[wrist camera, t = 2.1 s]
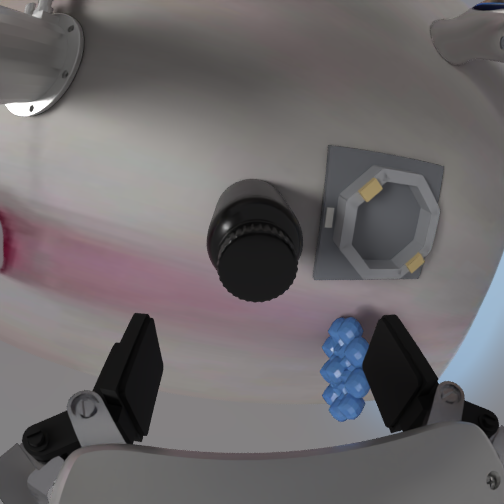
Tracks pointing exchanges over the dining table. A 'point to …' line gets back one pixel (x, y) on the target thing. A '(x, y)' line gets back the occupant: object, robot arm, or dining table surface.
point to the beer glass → (472, 34)
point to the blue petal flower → (345, 369)
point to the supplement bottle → (254, 241)
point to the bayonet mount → (376, 215)
